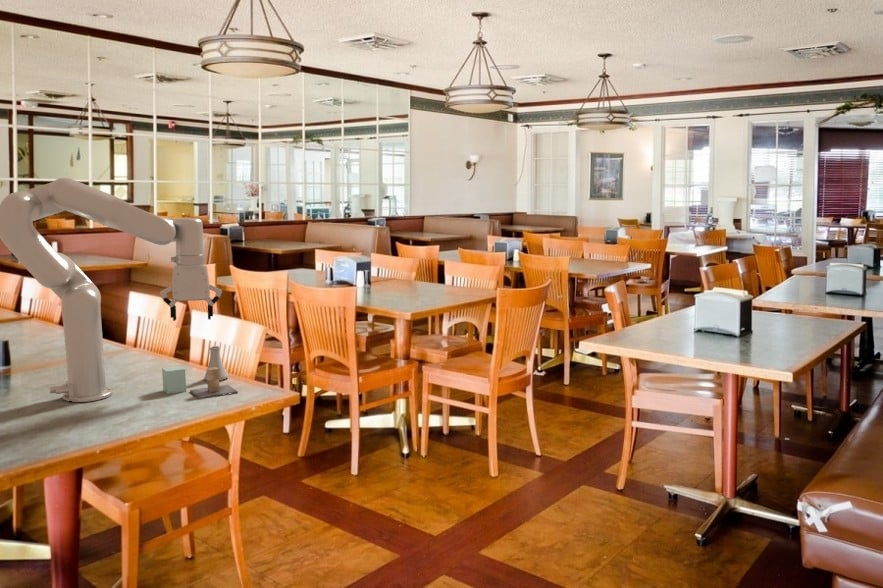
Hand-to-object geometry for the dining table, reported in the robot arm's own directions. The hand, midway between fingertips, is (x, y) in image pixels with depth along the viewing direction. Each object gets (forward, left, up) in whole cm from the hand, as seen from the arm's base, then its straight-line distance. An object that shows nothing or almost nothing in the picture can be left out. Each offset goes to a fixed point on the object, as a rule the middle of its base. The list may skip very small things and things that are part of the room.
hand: (192, 319), depth 222 cm
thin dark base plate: (+3, -10, -20) cm, 22 cm away
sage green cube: (-6, -2, -20) cm, 21 cm away
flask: (+8, +5, -20) cm, 22 cm away
